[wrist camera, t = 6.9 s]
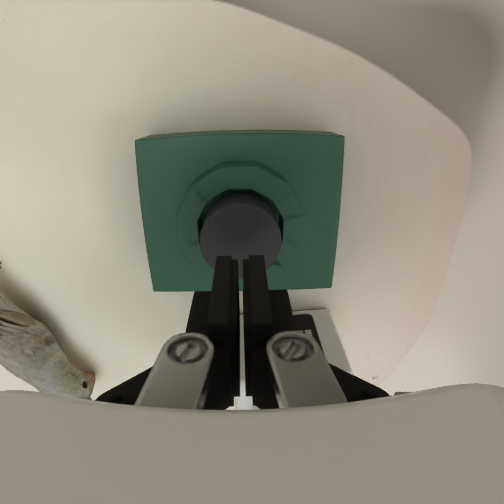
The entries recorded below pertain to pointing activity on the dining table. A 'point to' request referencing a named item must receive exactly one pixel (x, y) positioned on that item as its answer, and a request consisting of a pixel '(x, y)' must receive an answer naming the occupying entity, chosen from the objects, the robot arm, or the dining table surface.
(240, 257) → the dark grey push button
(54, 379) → the decorative bird
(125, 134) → the dining table surface
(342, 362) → the container
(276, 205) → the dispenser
